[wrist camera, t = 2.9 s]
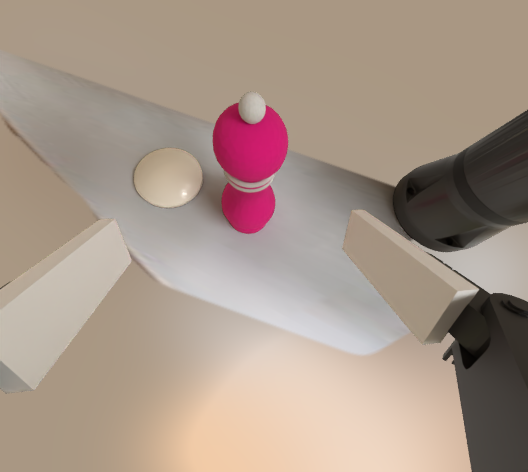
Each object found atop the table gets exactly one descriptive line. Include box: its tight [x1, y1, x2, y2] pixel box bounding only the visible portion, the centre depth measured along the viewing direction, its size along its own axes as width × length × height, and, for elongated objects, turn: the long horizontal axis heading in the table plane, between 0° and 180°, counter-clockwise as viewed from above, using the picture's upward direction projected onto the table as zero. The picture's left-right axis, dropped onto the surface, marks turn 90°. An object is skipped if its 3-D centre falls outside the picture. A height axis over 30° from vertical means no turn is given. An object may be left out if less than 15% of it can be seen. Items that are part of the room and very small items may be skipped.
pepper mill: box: [213, 92, 288, 234], centre depth 22 cm, size 7×7×20 cm
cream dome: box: [134, 148, 203, 208], centre depth 31 cm, size 10×10×1 cm
